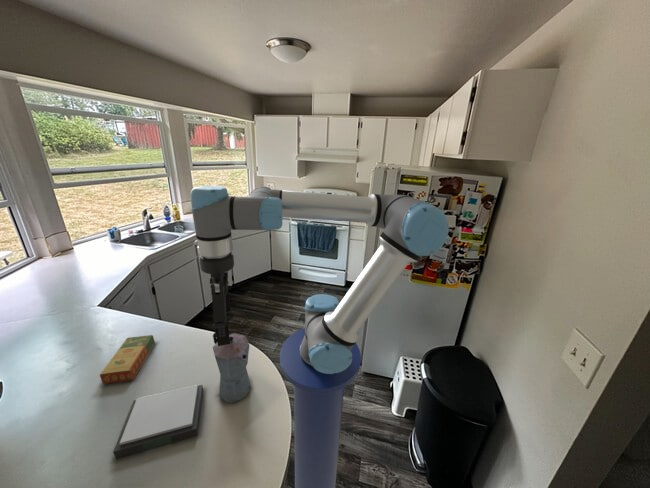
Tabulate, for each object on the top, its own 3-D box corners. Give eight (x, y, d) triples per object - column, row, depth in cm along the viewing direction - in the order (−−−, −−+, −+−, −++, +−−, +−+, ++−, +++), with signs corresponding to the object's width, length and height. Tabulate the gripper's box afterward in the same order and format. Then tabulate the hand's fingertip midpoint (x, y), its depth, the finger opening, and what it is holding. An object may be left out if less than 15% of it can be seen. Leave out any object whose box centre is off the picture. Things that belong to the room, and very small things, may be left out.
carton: (102, 385, 74) (98, 374, 73) (129, 346, 89) (126, 336, 87) (133, 380, 76) (130, 370, 74) (155, 343, 91) (153, 333, 89)
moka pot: (238, 416, 67) (231, 359, 60) (203, 388, 75) (193, 334, 67) (264, 389, 75) (260, 336, 68) (229, 366, 82) (223, 316, 75)
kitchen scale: (203, 390, 74) (201, 382, 73) (197, 436, 62) (195, 427, 61) (135, 406, 69) (132, 398, 67) (115, 460, 57) (111, 450, 56)
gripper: (204, 237, 69) (213, 302, 76) (190, 279, 47) (204, 365, 54) (233, 235, 71) (239, 298, 79) (232, 275, 49) (240, 358, 57)
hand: (225, 326), depth 67 cm, fingers open, 13 cm apart
